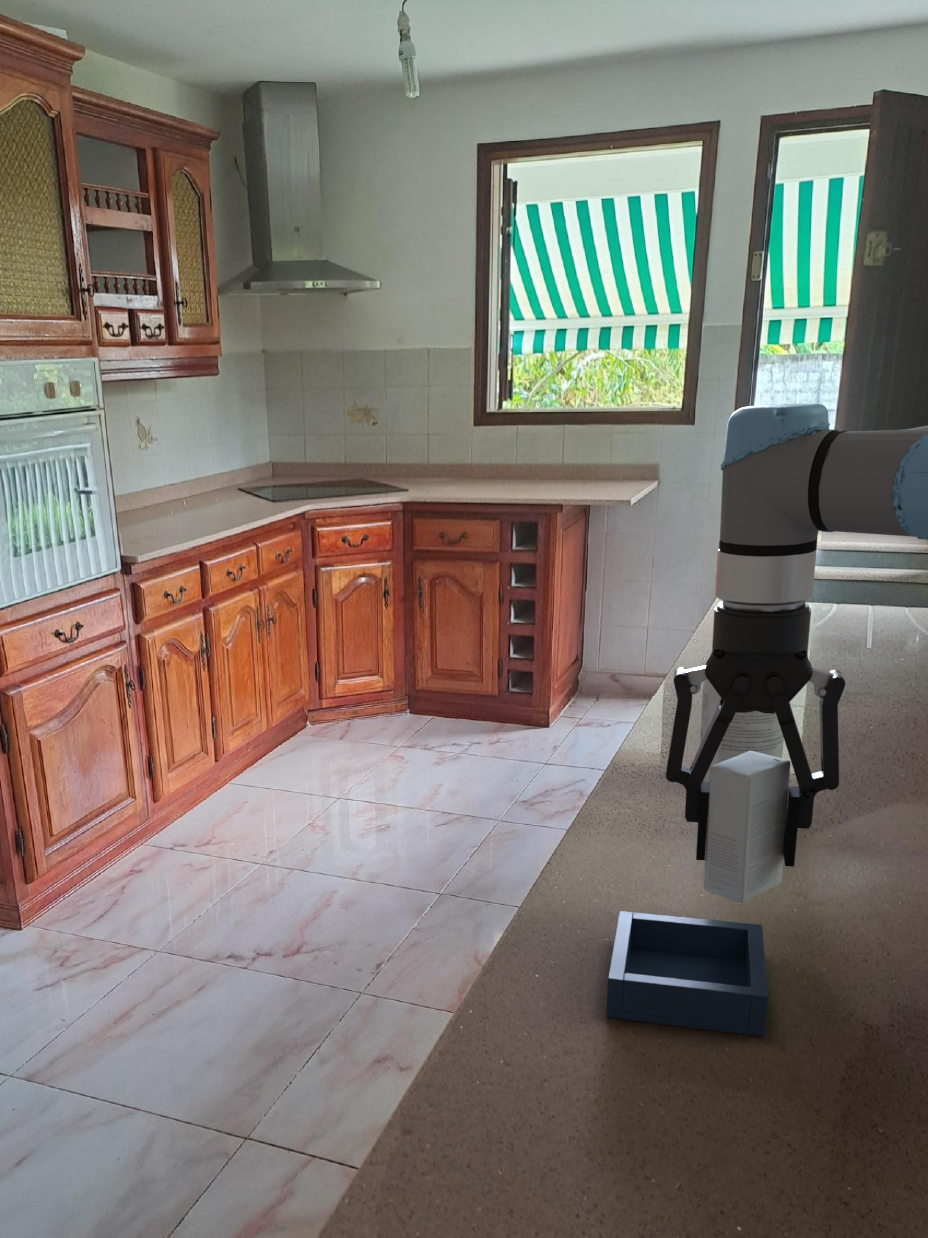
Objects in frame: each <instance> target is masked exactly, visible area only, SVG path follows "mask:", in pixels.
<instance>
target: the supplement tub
mask: <svg viewBox="0 0 928 1238" xmlns="http://www.w3.org/2000/svg"><path fill="white" fill-rule="evenodd" d="M720 699H721V697H720V696H719V694H718V693H717V692H716V690H715V689H714V687H713V686H712V685H711V683H710V682H709V680H708V679H706V680H704V681H703V682H702V696H701V713H700V714H701V716H700V732H699V733H700V735H699V746H700V745H701V742H702V740H703V738H704V736H705V734H706V731H707V729H708V727H709V725H710V723H711V721H712V718H713V716H714V714H715V712H716V709H717V706H718V704H719V701H720ZM784 742H785V740H784V737H783V734H782V731H781V728H780V725H779V722H778V719H777V716H776V713H775V714H766V713H762V712H758V711H752V712H747V713H735V715H734V718H733V720H732V722H731V723H730V724H729V726H728V728H727V731H726V733H725V735H724V737H723V739H722V741H721V743H720V746H719V748H718V750H717V752H716V754H715V756H714V759H713V761H712V763H711V765H710V767H711V766H712V765H715V764H718V763H720V762H723V761H725V760H728V759H730V758H733V757H736V756H738V755H741V754H743V753H745V752H748V751H754V752H759V753H763V754H767V755H770V756H774V757H778V758H782V759H783V752H784V751H783V750H784ZM710 767H709V769H708V771H707V774H706V776H705V778H704V780H703V782H709V779H710Z"/></svg>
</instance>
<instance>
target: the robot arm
mask: <svg viewBox="0 0 928 1238" xmlns="http://www.w3.org/2000/svg"><path fill="white" fill-rule="evenodd" d="M726 425H727V426H726V432H725V441H724V450H723V457H722V463H721V464H720V470H721V471H722V475H721V499H720V501H721V503H720V526H719V539H718V548H717V549H718V550H717V559H716V575H715V590H714V591H715V593H714V595H715V596H716V598H717V599H718V600H720V601H719V602H718V604H717V605H716V606H715V607H714V608H713V609H714V611H713V626H712V627H713V628H712V644H711V645H712V646H711V648H712V649H711V654H710V656H709V658H708V659H707V661H706V663H705V665H701V666H697V667H692V668H687V667H684V666H679V667H677V668H676V669H675V670H674V674H673V685H674V690H675V695H676V698H677V701H676V707H675V713H674V720H673V725H672V731H671V738H670V744H669V749H668V757H667V763H666V769H665V770H666V771H665V779H666V780H667V781H668V782H669V783H677V784H680V785H681V786H683V787H684V788H685V807H684V817H685V821H686V823H697V830H696V831H697V833H696V849H695V851H696V852H695V860H696V861H704V862H705V857H706V837H707V819H708V801H709V782H703V780H704V778H705V776H706V774H707V771H708V769H709V767H710V765H711V763H712V761H713V759H714V756H715V754H716V752H717V750H718V748H719V746H720V743H721V741H722V739H723V737H724V735H725V733H726V731H727V728H728V726H729V724H730V723H731V722H732V720H733V718H734V715H735V713H747V712H752V711H758V712H762V713H766V714H775V713H776V716H777V719H778V722H779V725H780V728H781V731H782V734H783V737H784V743H785V746H786V749H787V753H788V757H789V760H790V762H791V763H790V764H791V766H792V769H793V772H794V776H795V779H796V782H797V784H798V785H789V790H788V803H787V815H786V828H785V841H784V853H783V864H784V867H792V868H794V867H795V863H796V862H795V861H796V849H797V838H798V829H806V830H810V827H811V826H812V824H813V815H814V813H813V812H814V804H815V796H816V795H817V794H818V793H819V792H821V791H822V792H823V791H825V790H828V791H834V790H836V789H837V788H838V787H839V785H840V757H839V756H840V755H839V752H840V751H839V748H840V747H839V746H840V745H839V703H840V701H841V697H842V694H843V693H844V690H845V688H846V680H845V678H844V675H843V673H842V672H841V670H838V669H831V670H830V671H828V670H824V669H819V668H816V667H813V666H812V663H811V661H810V660H809V659H810V658H809V655H808V653H809V652H808V651H809V641H810V630H811V618H812V608H811V607H810V606H809V604H808V603H806V602H807V601H808V600H810V599H811V598H812V597H813V595H814V586H815V585H814V583H815V573H816V560H817V551H818V550H817V549H818V535H819V532H822V533H823V532H824V533H833V532H834V533H835V532H836V533H837V532H838V533H850V534H851V533H853V534H866V535H867V534H868V535H881V536H897V537H913V538H917V539H918V540H925V541H928V425H923V426H919V427H918V426H917V427H913V428H905V429H882V430H880V429H879V430H857V431H855V430H854V431H848V430H840V429H830V426H831V424H830V422H829V409H827V407H826V406H825V405H824V404H822V403H779V404H778V403H776V404H775V403H774V404H762V405H750V406H744V407H741V408H738V409H737V410H735V411H733V412H732V414H730V417H729V419H728V421H727V424H726ZM706 679H708V680H709V682H710V683H711V685H712V686H713V687H714V689H715V690H716V692H717V693H718V694H719V696H720V697H721V699H720V701H719V704H718V706H717V709H716V712H715V714H714V716H713V718H712V721H711V723H710V725H709V727H708V729H707V731H706V734H705V736H704V738H703V740H702V742H701V745H700V744H699V747H698V749H697V751H696V754H695V756H694V758H693V760H692V762H691V764H690V767H688V766H685V765H683V761H684V754H685V748H686V743H687V738H688V737H687V736H688V730H689V725H690V719H691V713H692V708H693V707H692V706H693V696H694V695H696V694H698V693H699V692H700V691H701V686H702V684H703V681H704V680H706ZM808 683H811V684H813V690H814V691H813V692H814V694H815V696H816V697H818V698H819V726H820V727H819V733H820V737H819V738H820V739H819V740H820V771H816V772H813V773H812V770H811V766H810V764H809V760H808V758H807V754H806V751H805V748H804V745H803V742H802V738H801V735H800V730H799V729H798V725H797V721H796V719H795V716H794V713H793V708H792V705H791V701H793V700H794V698H795V697H796V695H798V694H799V693H800V691H802V689H803V688H804V687H805V686H806V685H807V684H808Z"/></svg>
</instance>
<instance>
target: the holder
mask: <svg viewBox="0 0 928 1238" xmlns="http://www.w3.org/2000/svg"><path fill="white" fill-rule="evenodd" d="M764 943H765V942H764V929H763V925H762V924H758V923H746V922H737V921H726V920H716V919H706V918H705V919H704V918H694V917H684V916H673V915H663V914H654V913H642V912H633V911H624V910H623V911H622V910H620V911H619V912H618V917H617V922H616V928H615V935H614V941H613V947H612V951H611V952H612V953H611V958H610V963H609V969H608V976H607V988H606V989H607V990H606V991H607V992H606V1011H605V1012H606V1014H605V1016H606V1018H608V1019H618V1020H625V1021H632V1022H633V1021H634V1022H643V1023H650V1024H659V1025H667V1026H675V1027H681V1028H688V1029H689V1028H690V1029H698V1030H705V1031H712V1032H713V1031H714V1032H720V1033H721V1032H722V1033H731V1034H738V1035H739V1034H740V1035H746V1036H754V1037H761V1038H762V1037H763V1038H764V1037H765V1031H766V1021H767V1012H768V1011H767V1010H768V1002H769V993H768V992H769V991H768V979H767V967H766V957H765V956H766V954H765V944H764Z"/></svg>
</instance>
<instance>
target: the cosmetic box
mask: <svg viewBox="0 0 928 1238" xmlns="http://www.w3.org/2000/svg"><path fill="white" fill-rule="evenodd" d="M791 764H792V763H791V760H790V759H785V758H783V757H782V758H778V757H774V756H770V755H767V754H763V753H759V752H754V751H748V752H745V753H743V754H741V755H738V756H736V757H733V758H730V759H728V760H725V761H723V762H720V763H718V764H715V765H712V766H711V767H710V779H709V801H708V817H707V834H706V850H705V861H704V876H703V877H704V879H703V889H704V891H706V892H710V893H712V894H715V895H718V896H720V897H723V898H726V899H728V900H731V901H734V902H736V903H738V904H739V903H740V904H744V903H746V902H747V901H750V900H752V899H754V898H756V897H758V896H759V895H761V894H763V893H765V892H767V891H769V890H770V889H773V888H775V887H777V886H780V885H781V884H782V879H783V867H784V866H783V865H784V856H783V853H784V841H785V828H786V815H787V804H788V792H789V786H790V778H791V777H790V776H791Z"/></svg>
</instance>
